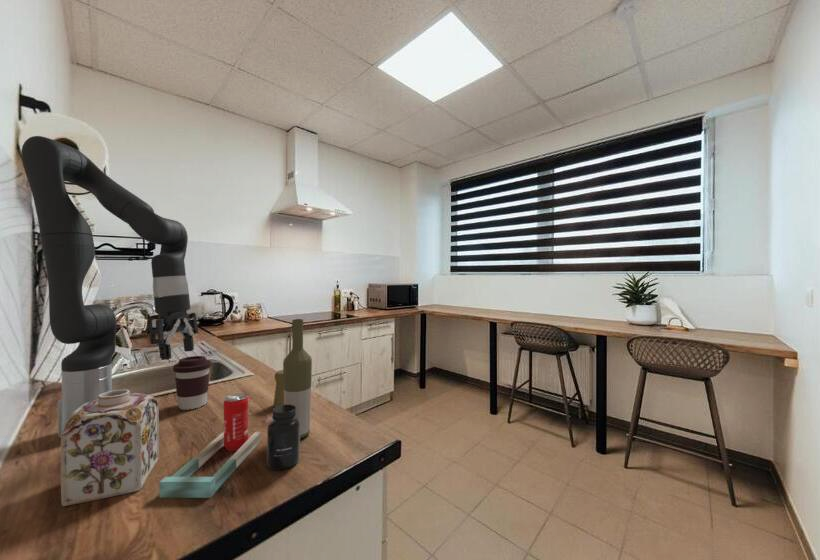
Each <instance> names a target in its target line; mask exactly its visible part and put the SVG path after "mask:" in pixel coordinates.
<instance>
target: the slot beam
mask: <svg viewBox="0 0 820 560" xmlns="http://www.w3.org/2000/svg"><path fill="white" fill-rule="evenodd" d="M260 442H262V431H254V433H253V434H252V435H251V436H250V437H248V440H247V441H246V442H245V443H244V444H243V445H242V446H241V447H240V449H239V450H236V452H235V453H233V454H232V456H231V457H230V458H228V460H227V461H226V462H225V463H224V464H223V465H222V466H221V467H220V468H219V470H217V471H216V472H215V474H213V476H192V475H193V474H194V473H196V472H197V471H198V470H199V469H200V468H201V467H202V466H203V465H204V464H205V463H206V462H207V461H209V459H210V458H212V457H213V456H214V455H215V454H216V453H217V452H218V451H219V450H220V449H221V448H222V447H223V446H224V431H223V432H221V433H220V434H219V435H218V436H217V437H216V438H214V439H213V440H212V441H211V442H210V443H209V444H208V445H206V446H205V447H204V448H203V449H202V450H200V452H198V453H197V454H196V455H195V456H194V457H192V459H190V460H189V461H187V463H185V465H183V466H182V467H180V468H179V470H177V471H176V472H175V473H174V474H173V475H172V476H165V477H163V478H162V479H161V480H160V481H159V482H158V484H159V485H158V486H159V489H158V490H159V491H158V493H159V495H158V496H159V499H161V498H163V499H164V498H165V499H166V498H167V499H168V498H175V499H176V498H179V499H182V498H183V499H184V498H185V499H187V498H189V499H191V498H192V499H193V498H198V499H200V498H201V499H206V498H207V499H208V498H209V499H211V498H212V497H213V496H214V495H215V493H217V491H218V490H219V489H220V488H221V487H222V485H223V484H224V483H225V482H226V481H227V480H228V478H229V477H230V476H231V475H232V474H233V473H234V472H235V470H236V469H237V468H238V467H240V465H241V464H242V463H243V462H244V460H245V459H246V458H247V457H248V456H249V455H250V453H252V451H253V450H254V449H255V448H256V447H257V445H258V444H259V443H260Z"/></svg>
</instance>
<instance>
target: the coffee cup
mask: <svg viewBox="0 0 820 560" xmlns="http://www.w3.org/2000/svg"><path fill="white" fill-rule="evenodd" d="M211 367H212V360H210V359H207V357H206V356H204V355H194V356H193V355H192V356H187V357H183V358H180V359H179V361H178V362H177V363H175V364H174V365H173V366H172V371H173V372H174V373H175V378H174V380H175V391H176V396H177V400H178V402H177V403H178V409H180V410H182V411H189V410H190V409H191V410H195V408H196V409H199V408H202V407H203V405H204V406H205V405H206V404H207V400H208V399H207V398H208V391H209V384H210V382H209V381H210V368H211ZM201 406H202V407H201ZM191 410H190V411H191Z"/></svg>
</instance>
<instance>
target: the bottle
mask: <svg viewBox="0 0 820 560" xmlns="http://www.w3.org/2000/svg"><path fill="white" fill-rule="evenodd" d="M291 322H292V323H291V326H292V335H291V336H292V337H291V339H292V342H291V343H292V344H291V345H292V349H291V351H289V353H288V354H287V355H286V357H285V358H284V359H283V365H282V366H283V367H282V370H283V379H284V405H293V406H295V407H296V418H298V419H299V421H300V439H302V438H305V437H307V436H308V435H309V434H310V431H311V424H312V423H311V421H312V419H311V418H312V365H313V364H312V363H313V358H312V356H311V355H310V354H309V353H308V352H307V351H306V350H305V349H304V319H302V318H297V319H295V318H294V319H292V321H291Z"/></svg>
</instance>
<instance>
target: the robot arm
mask: <svg viewBox="0 0 820 560" xmlns="http://www.w3.org/2000/svg"><path fill="white" fill-rule="evenodd" d="M20 152H21V155H20V156H21V161H22V166H23V169H24V173H25V175H26V178H27V182H28V184H29V187H30V191H31V194H32V198H33V202H34V207H35V212H36V213H35V214H36V216H37V217H36V218H37V222H38V229H39V237H40V245H41V248H42V253H43V258H44V263H45V269H46V277H47V285H48V313H49V327H50V330H51V333H52V335H53V337H54V338H55V339H56V340H57V341H58V342H60V343H61V344H65V345H72V344H78V346H77V347H76V349H75V350H73V351H72V352H71V353H70V354H68V355H67V356H65V357H64V358H63V359H62V360H61V365H60V367H61V398H60V399H58V401H57V420H58V421H57V424H58V426H57V429H58V430H57V431H58V433H57V434H58V436H57V437H58V438H61V435H60V434H61V432H62V431H63V430H64V427H65V425H66V423H67V422H68V420H69V417H70V416H71V414H72V413H73V412H74V411H75V410H76V409H77V408H79V407H80V406H82V405H83V404H85V403H88V402H91V401H94V400H96V399H98V396H99V395H100V394H102V393H105V392H109V391H113V388H112V387H113V385H112V383H113V379H112V377H113V376H112V375H113V372H112V371H113V370H112V365H113V364H112V358H113V356H114V355H115V351H116V343H117V342H116V341H117V326H118V325H117V317H116V315H115V312H114V310H112V308H111V307H109V306H108V305H105V304H103V303H102V304H100V303H98V304H97V303H96V304H93V303H92V304H87V305H85V304H84V299H83V298H84V297H83V283H84V281H85V278H86V275H87V274H88V272H89V270H90V268H91V266H92V264H93V263H94V259H95V257H96V247H95V242H94V236H93V232H92V231H93V230H92V229H91V226H90V225H89V223H88V221H87V219H86V218H85V217H84V215H83V214H82V213H81V212H80V211H79V209H78V208H77V207H76V205H75V204H74V202H73V201H72V199H71V197H70V196H69V193H68V191H67V187H66V183H65V182H69V183H70V184H73V185H75V186H77V187H80V188H82V189H84V190H85V191H87V192H89V193H91V194H92V195H93V196H94V197H95V198H96V199H97V201H98V202H99V204H100V205H101V206H102V207H103V208H104V209H105V210H106V211H108V212H109V213H110V214H112V215H113V216H115V217H117V218H118V219H119V220H120V221H122V222H123V223H126V224H127V225H128V227H130V228H131V230H133V231H134V232H135V233H136V234H137V235H138V237H140V238H142V239H143V240H144V241H147V242H148V243H150V244H151V243H152V244H154V245H160V252H159V254H156V255H153V257H152V258H151V260H150V261H151V263H150V264H151V272H152V273H151V274H152V295H153V301H154V302H153V303H154V312H155V313H156V314H157V315H158V314H159V318H156V319H150V320H149V321H148V327H149V330H148V331H149V343H150V344H151V345H155V346H156V345H157V346H158V352H159V358H160V359H161V361H163V360H164V361H167V360H170V359H172V348H171V344H170V342H171V339H172V338H173V337H174V336H175V334H176V333H178V334H180V335H181V336H182V337H183V338H182V341H183V343H182V344H183V350H184V352H192V351H194V350H195V348H194V346H195V345H194V344H195V343H194V337H195V335H196V334H198V333H199V328H198V326H199V325H198V320H197V314H196V312H189V313H188V312H187V311H189V310H191V300H190V291H189V290H190V289H189V283H188V279H187V274H186V263H185V258H186V253H187V247H188V241H189V240H188V239H189V238H188V233H187V228H185V226H184V225H183V223H181V222H180V221H178V220H175V219H170V218H166V217H163V216H160V215H158V214H157V213H155V210H154V209H153V207H152V206H151V205H150V204H149V203H147V202H146V201H144V200H142V198H140V197H139V196H137V195H135V193H132V192H131V191H129V190H128V189H126V188H125V187H124V186H122V185H120V184H119V183H117V182H116V181H115V180H113V179H112V178H111V177H109V175H108V174H106V173H105V172H104V171H102V170H101V169H100V168H99V167H98V166H97V165H96V164H95V163H94V162H93V161H92V160H91V159H90V158H89V157H87V156H86V155H85V154H84V153H83V152H81V150H79V149H77V148H75V147H73V146H70V145H67V144H65V143H62V142H61V141H60V142H59V141H57V140H54V139H53V138H52V139H51V138H49V137H45V136H40V135H35V136H30V137H29V138H27V139H26V140H25V141H24V143H23V144H22V147H21V151H20ZM156 335H157V338H156Z"/></svg>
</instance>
